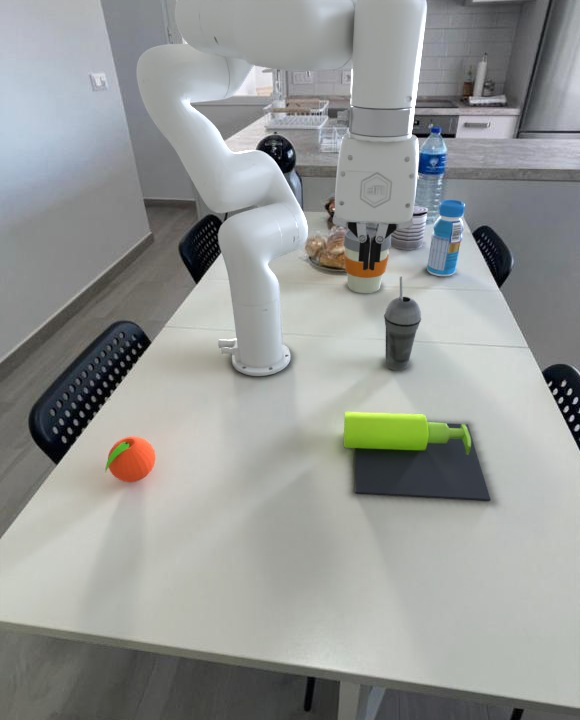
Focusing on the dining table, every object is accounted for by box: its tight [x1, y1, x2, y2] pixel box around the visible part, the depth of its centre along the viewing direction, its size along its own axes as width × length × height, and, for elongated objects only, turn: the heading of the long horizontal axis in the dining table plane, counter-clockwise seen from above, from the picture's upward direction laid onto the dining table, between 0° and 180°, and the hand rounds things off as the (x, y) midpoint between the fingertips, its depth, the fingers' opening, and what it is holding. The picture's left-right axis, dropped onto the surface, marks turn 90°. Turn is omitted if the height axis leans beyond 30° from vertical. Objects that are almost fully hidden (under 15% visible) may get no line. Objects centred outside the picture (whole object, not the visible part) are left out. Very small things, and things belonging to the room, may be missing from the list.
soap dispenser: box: [343, 411, 471, 455], centre depth 73 cm, size 6×7×20 cm
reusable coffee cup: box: [342, 225, 392, 294], centre depth 121 cm, size 12×13×15 cm
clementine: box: [105, 435, 156, 483], centre depth 69 cm, size 8×7×7 cm
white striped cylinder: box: [390, 205, 429, 251], centre depth 147 cm, size 11×11×12 cm
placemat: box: [354, 422, 491, 502], centre depth 73 cm, size 20×16×1 cm
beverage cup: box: [383, 276, 422, 371], centre depth 89 cm, size 7×7×20 cm
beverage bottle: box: [426, 199, 466, 277], centre depth 127 cm, size 8×8×20 cm
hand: (368, 266), depth 64 cm, fingers closed
